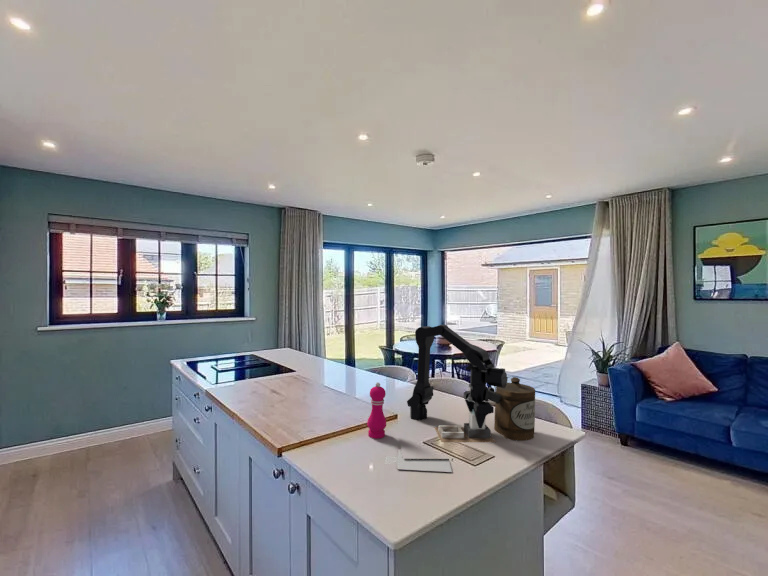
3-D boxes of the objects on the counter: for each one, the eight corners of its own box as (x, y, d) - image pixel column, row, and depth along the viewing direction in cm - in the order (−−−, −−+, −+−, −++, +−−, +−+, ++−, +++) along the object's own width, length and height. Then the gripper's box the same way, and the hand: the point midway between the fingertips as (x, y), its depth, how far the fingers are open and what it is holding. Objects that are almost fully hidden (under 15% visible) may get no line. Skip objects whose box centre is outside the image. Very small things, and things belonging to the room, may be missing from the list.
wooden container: (521, 444, 136) (522, 384, 136) (486, 431, 148) (488, 376, 147) (541, 435, 146) (543, 378, 145) (507, 423, 157) (509, 371, 157)
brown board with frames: (441, 444, 134) (441, 433, 134) (434, 429, 148) (434, 419, 148) (496, 445, 135) (496, 433, 135) (483, 430, 149) (484, 420, 149)
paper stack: (456, 491, 104) (456, 488, 104) (367, 486, 105) (367, 483, 105) (446, 453, 127) (447, 451, 127) (373, 450, 129) (373, 448, 129)
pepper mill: (384, 440, 137) (385, 385, 137) (364, 438, 138) (366, 384, 138) (387, 432, 144) (389, 380, 144) (369, 430, 145) (370, 379, 145)
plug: (471, 436, 140) (472, 412, 140) (468, 432, 144) (469, 408, 144) (484, 436, 140) (485, 412, 140) (481, 432, 144) (482, 408, 144)
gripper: (508, 390, 133) (507, 433, 133) (490, 377, 151) (489, 415, 151) (477, 389, 132) (476, 433, 132) (463, 376, 151) (462, 415, 151)
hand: (477, 423), depth 142 cm, fingers open, 8 cm apart
